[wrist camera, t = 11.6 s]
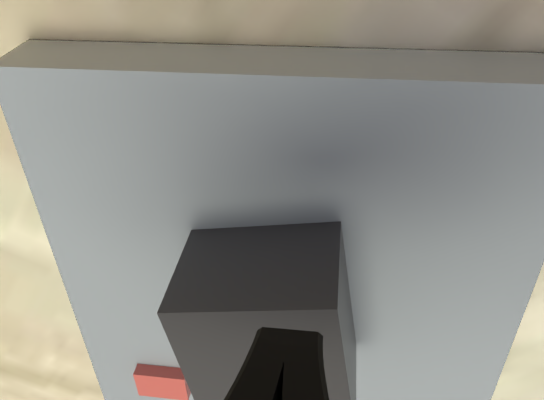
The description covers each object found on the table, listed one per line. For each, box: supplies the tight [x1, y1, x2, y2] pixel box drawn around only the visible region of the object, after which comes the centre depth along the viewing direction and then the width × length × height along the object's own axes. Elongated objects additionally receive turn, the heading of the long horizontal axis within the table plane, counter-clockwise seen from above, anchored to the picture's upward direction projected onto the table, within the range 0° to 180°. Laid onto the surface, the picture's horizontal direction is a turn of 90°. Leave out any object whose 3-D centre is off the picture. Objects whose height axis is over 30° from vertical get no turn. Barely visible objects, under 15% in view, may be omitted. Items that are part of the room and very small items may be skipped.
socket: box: [0, 40, 544, 400], centre depth 21 cm, size 18×18×3 cm
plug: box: [157, 221, 356, 400], centre depth 19 cm, size 5×6×6 cm
